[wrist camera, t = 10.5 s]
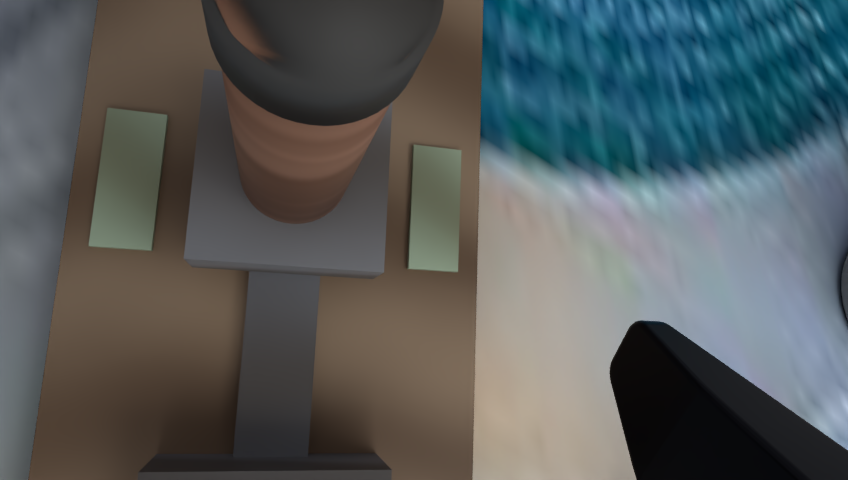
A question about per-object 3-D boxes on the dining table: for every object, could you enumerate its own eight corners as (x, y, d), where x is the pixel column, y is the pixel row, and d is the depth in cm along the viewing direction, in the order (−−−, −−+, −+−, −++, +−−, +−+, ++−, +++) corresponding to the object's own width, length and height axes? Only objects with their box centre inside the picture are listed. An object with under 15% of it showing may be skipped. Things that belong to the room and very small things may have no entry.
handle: (372, 279, 18) (515, 193, 8) (192, 267, 17) (71, 146, 6) (381, 117, 19) (519, -156, 8) (210, 95, 17) (130, -254, 7)
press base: (453, 628, 19) (498, 698, 15) (21, 660, 16) (-54, 756, 12) (471, -60, 23) (510, -137, 19) (132, -130, 20) (102, -236, 17)
